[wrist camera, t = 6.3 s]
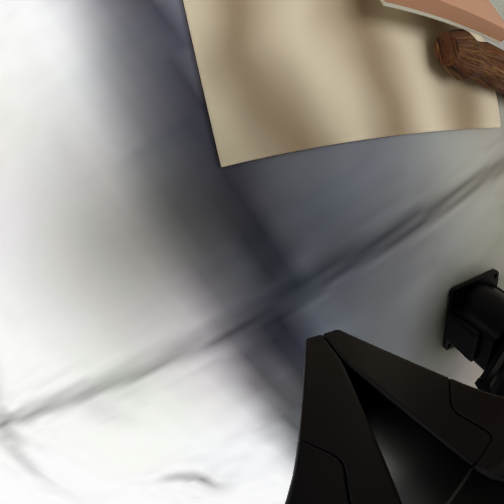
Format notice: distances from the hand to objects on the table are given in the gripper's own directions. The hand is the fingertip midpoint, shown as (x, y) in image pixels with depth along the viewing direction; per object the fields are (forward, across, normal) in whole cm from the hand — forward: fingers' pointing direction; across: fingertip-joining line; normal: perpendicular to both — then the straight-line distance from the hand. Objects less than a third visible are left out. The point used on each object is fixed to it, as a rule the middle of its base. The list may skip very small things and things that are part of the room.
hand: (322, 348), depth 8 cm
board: (+12, -10, -14) cm, 21 cm away
